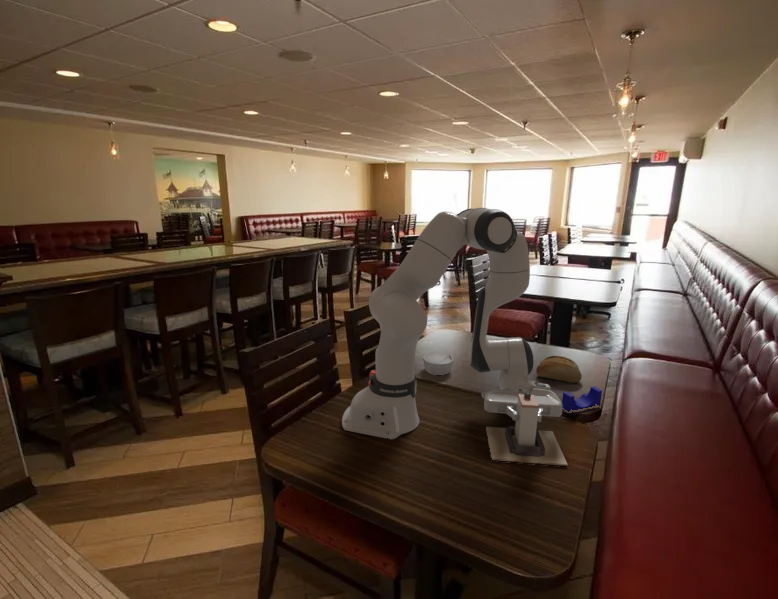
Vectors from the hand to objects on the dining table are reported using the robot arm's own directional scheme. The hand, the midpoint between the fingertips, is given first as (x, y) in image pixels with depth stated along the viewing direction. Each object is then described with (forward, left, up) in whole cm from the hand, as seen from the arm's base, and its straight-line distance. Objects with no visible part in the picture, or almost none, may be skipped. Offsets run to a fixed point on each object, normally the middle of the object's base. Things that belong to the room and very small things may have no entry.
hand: (527, 418), depth 103 cm
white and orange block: (0, +1, -7) cm, 7 cm away
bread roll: (+20, +44, -9) cm, 49 cm away
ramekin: (-23, +45, -9) cm, 51 cm away
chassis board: (0, +1, -9) cm, 9 cm away
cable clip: (+21, +24, -9) cm, 33 cm away
